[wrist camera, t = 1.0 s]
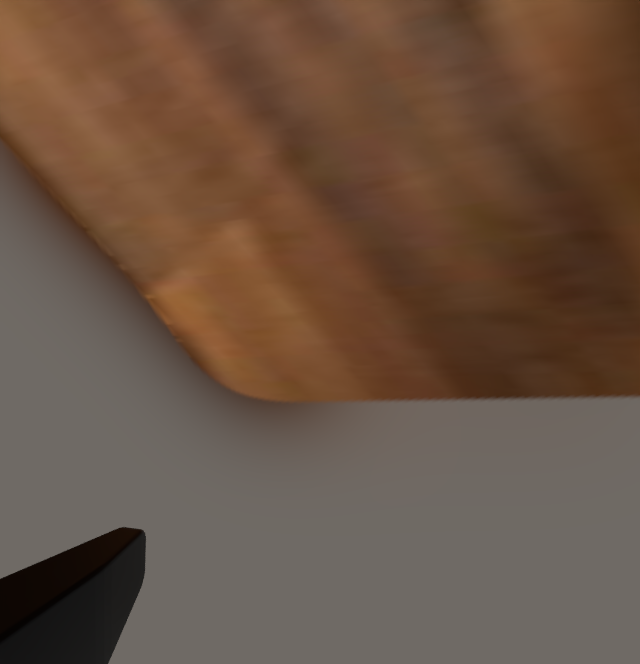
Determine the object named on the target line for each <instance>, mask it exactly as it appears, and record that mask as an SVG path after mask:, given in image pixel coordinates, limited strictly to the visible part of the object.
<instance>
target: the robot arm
mask: <svg viewBox="0 0 640 664" xmlns="http://www.w3.org/2000/svg"><path fill="white" fill-rule="evenodd" d="M145 548H146V536H145V532H144V531H143V530H141V529H134V528H126V527H122V528H118V529H116V530H113V531H111V532H109V533H106V534H104V535H102V536H99V537H97V538H95V539H92V540H90V541H88V542H85V543H83V544H81V545H79V546H76V547H74V548H71V549H69V550H67V551H64V552H62V553H60V554H57V555H55V556H53V557H50V558H48V559H46V560H43V561H41V562H39V563H36V564H34V565H32V566H29V567H27V568H25V569H22V570H20V571H17V572H15V573H13V574H10V575H8V576H6V577H3V578H1V579H0V664H108V663H109V660H110V658H111V656H112V653H113V651H114V649H115V646H116V644H117V642H118V640H119V637H120V635H121V632H122V630H123V628H124V625H125V623H126V621H127V619H128V616H129V614H130V612H131V610H132V607H133V605H134V603H135V600H136V598H137V596H138V593H139V591H140V589H141V586H142V583H143V579H144V573H145Z"/></svg>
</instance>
